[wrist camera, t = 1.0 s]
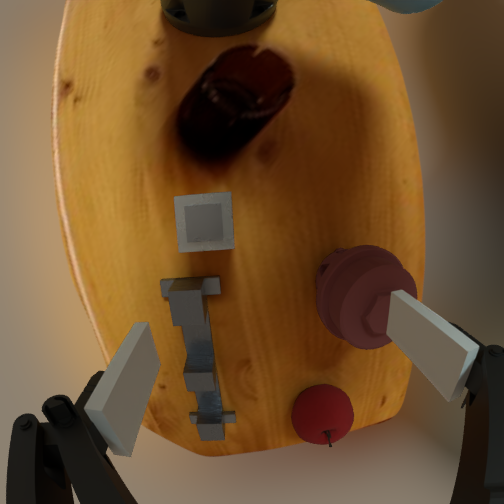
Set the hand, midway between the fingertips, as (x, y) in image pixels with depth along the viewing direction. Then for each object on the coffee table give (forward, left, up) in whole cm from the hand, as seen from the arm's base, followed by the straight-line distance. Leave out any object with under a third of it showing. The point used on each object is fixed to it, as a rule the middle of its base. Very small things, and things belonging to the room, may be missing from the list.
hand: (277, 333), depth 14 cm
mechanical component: (+3, +11, -19) cm, 22 cm away
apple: (+23, +9, -19) cm, 31 cm away
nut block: (-5, -4, -19) cm, 20 cm away
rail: (+14, -7, -19) cm, 25 cm away
